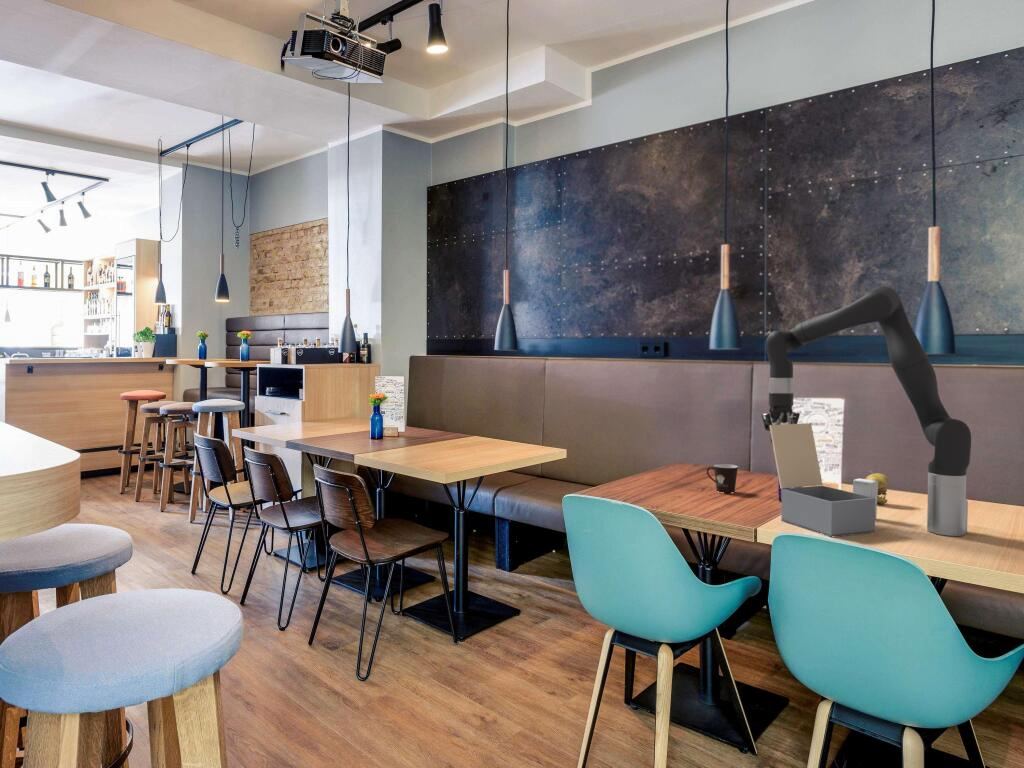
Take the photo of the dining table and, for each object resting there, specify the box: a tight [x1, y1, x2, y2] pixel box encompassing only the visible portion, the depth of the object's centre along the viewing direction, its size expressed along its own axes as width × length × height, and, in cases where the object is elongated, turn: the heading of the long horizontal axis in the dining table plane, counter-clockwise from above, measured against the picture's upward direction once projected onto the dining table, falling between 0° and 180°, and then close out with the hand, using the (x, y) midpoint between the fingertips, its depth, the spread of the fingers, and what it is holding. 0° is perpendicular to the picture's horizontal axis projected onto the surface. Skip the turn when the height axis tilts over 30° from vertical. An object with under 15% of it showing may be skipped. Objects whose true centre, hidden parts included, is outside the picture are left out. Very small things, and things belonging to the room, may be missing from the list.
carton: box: [780, 485, 876, 538], centre depth 198 cm, size 16×20×10 cm
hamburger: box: [864, 470, 890, 505], centre depth 228 cm, size 8×7×12 cm
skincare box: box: [852, 478, 878, 520], centre depth 208 cm, size 6×4×12 cm
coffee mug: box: [706, 463, 739, 493], centre depth 250 cm, size 12×9×10 cm
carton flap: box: [769, 422, 824, 490], centre depth 213 cm, size 16×20×6 cm
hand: (780, 443), depth 216 cm, fingers closed on carton flap, 4 cm apart
